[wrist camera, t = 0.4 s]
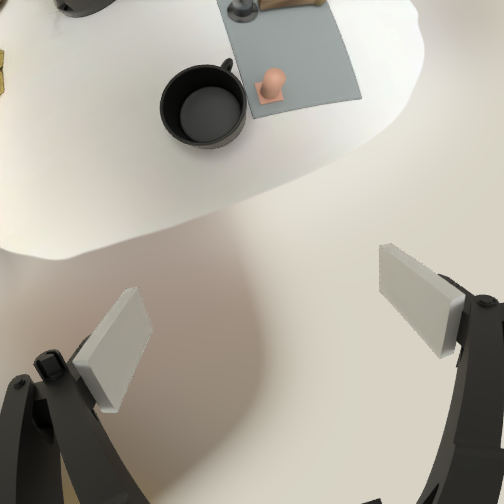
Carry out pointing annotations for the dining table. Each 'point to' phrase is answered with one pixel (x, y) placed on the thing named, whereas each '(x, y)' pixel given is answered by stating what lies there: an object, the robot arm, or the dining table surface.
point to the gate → (286, 3)
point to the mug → (204, 106)
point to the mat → (293, 56)
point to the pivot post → (242, 11)
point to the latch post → (271, 86)
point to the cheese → (0, 77)
